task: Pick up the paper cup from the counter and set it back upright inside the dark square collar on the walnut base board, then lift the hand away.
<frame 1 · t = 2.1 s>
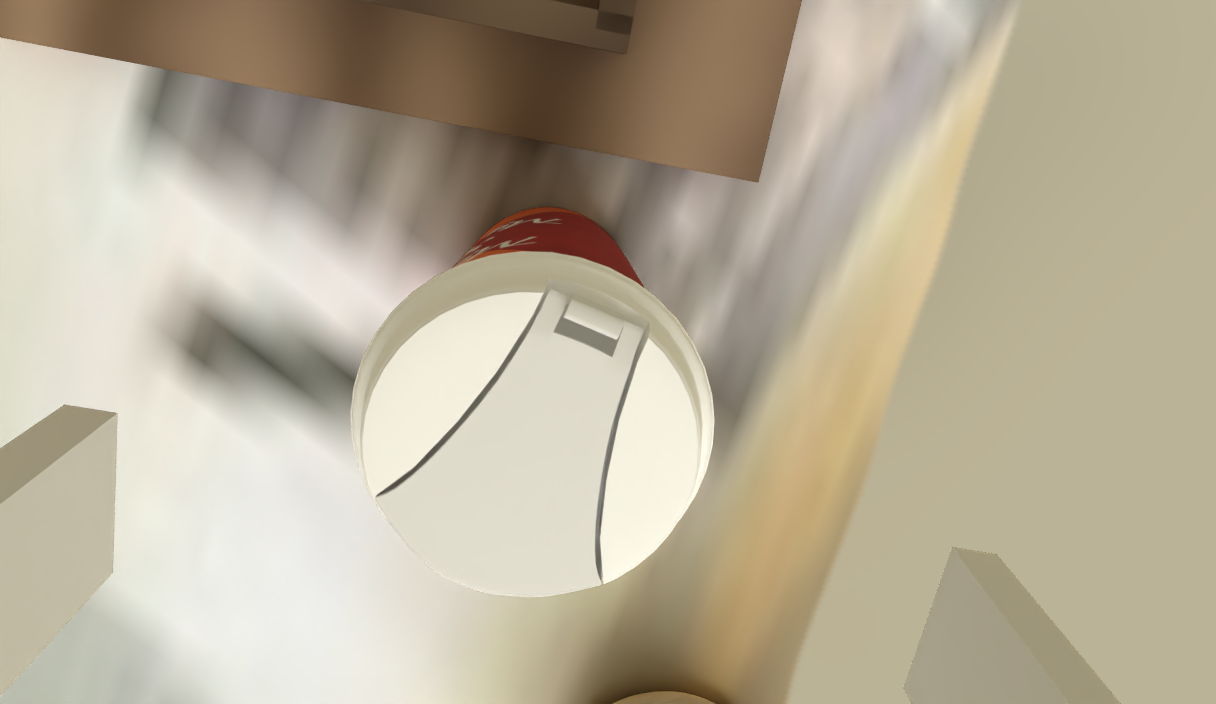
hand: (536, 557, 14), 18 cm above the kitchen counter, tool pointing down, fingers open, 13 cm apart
paper cup: (547, 287, 32), on the kitchen counter
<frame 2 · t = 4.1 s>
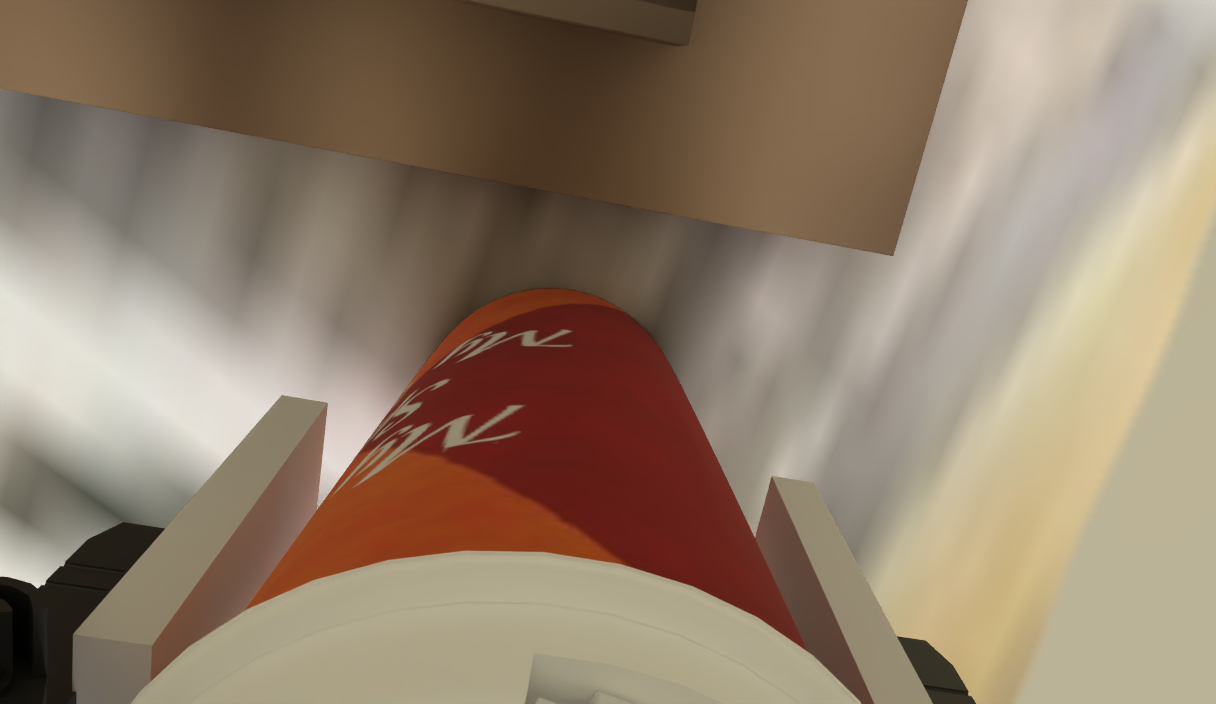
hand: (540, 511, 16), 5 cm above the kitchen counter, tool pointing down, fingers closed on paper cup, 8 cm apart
paper cup: (550, 407, 20), on the kitchen counter, touching gripper
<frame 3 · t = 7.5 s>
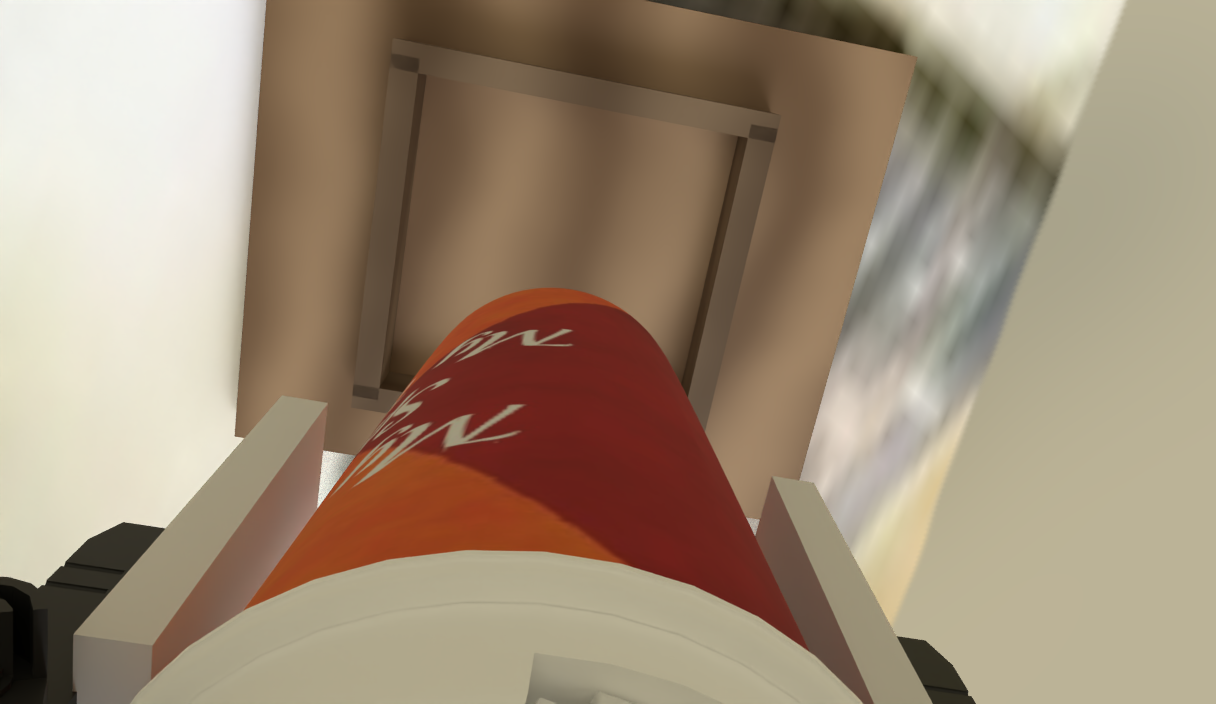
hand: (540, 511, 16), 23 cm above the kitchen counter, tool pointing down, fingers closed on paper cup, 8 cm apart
assembly base: (558, 249, 38), on the kitchen counter
paper cup: (550, 406, 20), point 18 cm above the kitchen counter, touching gripper
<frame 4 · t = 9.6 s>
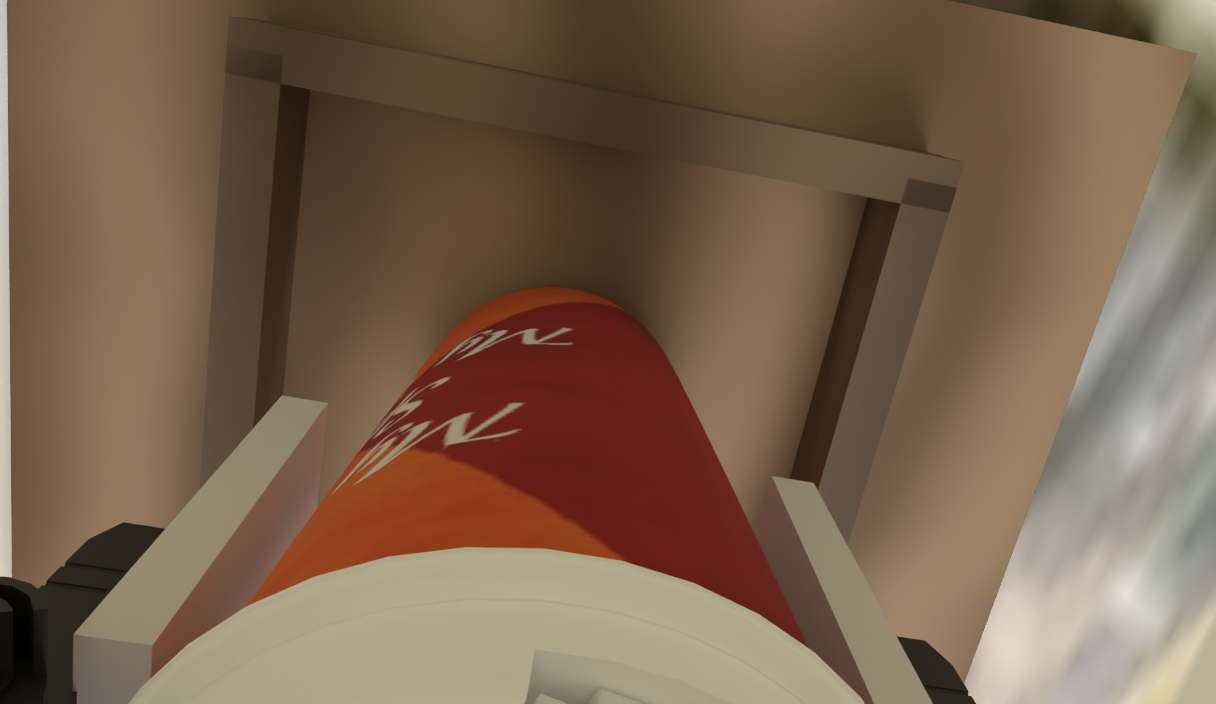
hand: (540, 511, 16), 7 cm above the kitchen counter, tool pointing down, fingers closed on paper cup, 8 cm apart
assembly base: (551, 376, 22), on the kitchen counter
paper cup: (550, 405, 20), point 2 cm above the kitchen counter, touching gripper
when the fingers open (6 cm above the kitchen counter, at t = 11.0 s): paper cup stays where it is, resting on assembly base.
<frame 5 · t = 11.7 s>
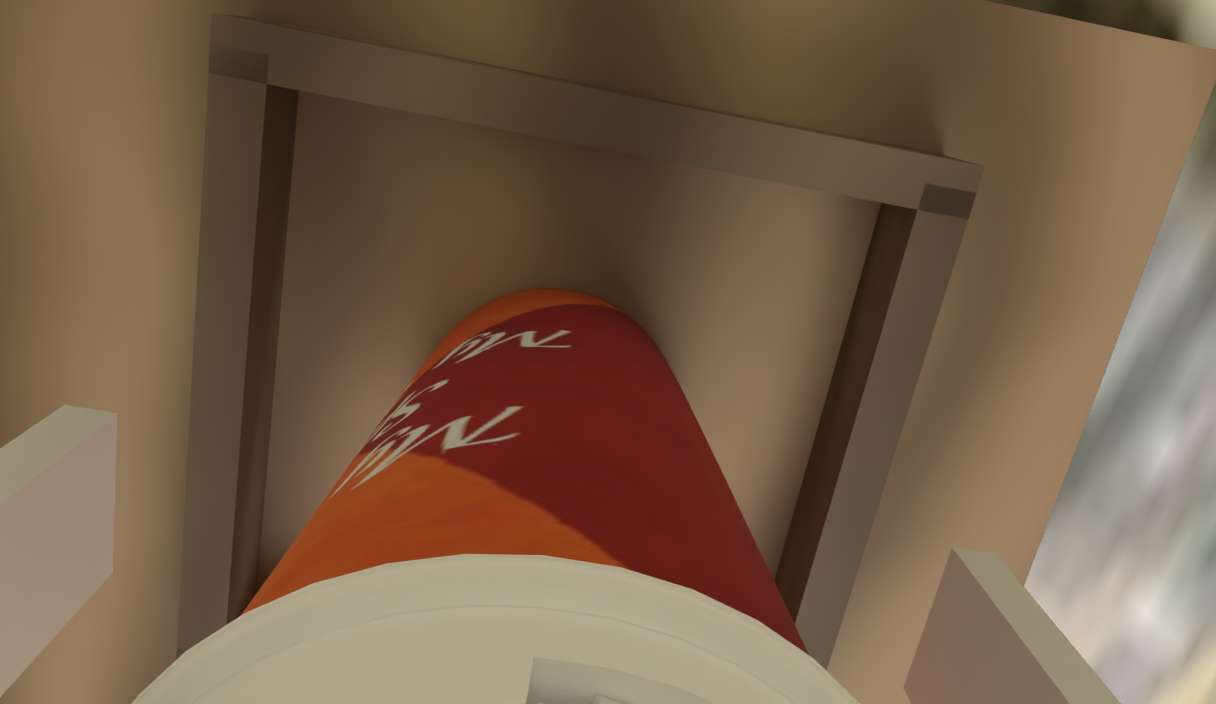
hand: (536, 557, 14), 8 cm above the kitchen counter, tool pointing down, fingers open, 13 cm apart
assembly base: (551, 387, 22), on the kitchen counter
paper cup: (549, 407, 20), point 1 cm above the kitchen counter, touching assembly base
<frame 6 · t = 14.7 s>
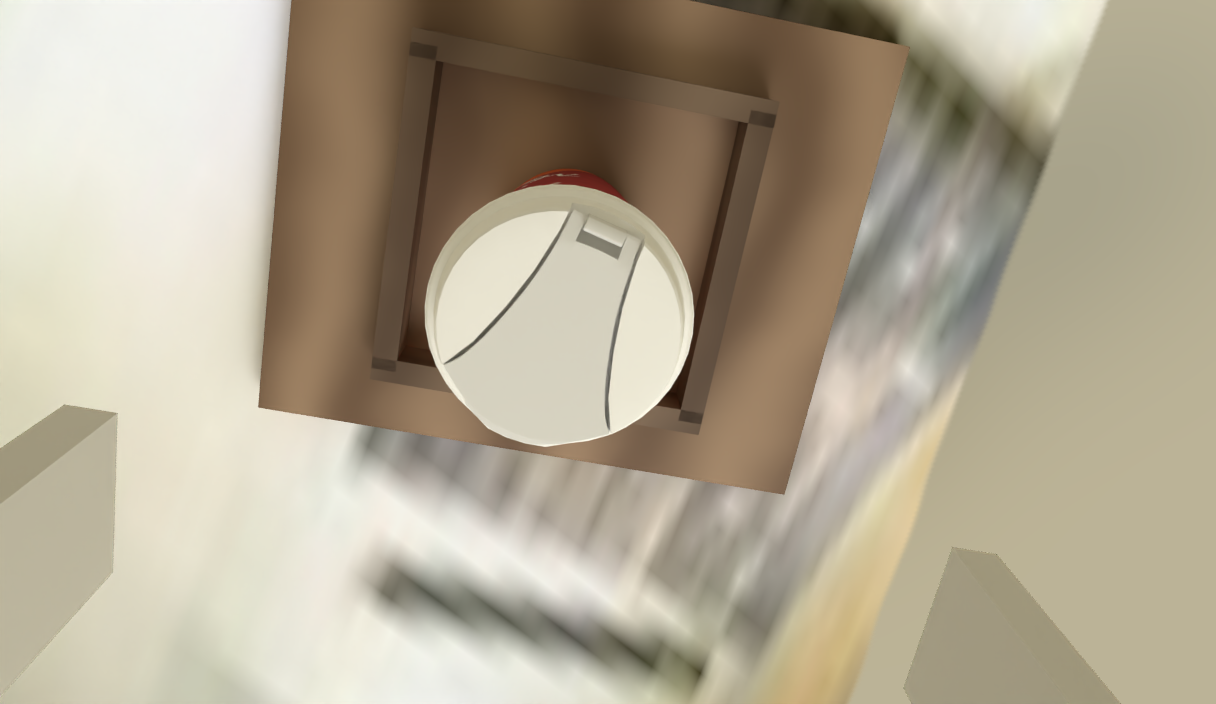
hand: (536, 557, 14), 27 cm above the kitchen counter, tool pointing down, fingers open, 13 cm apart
assembly base: (567, 229, 40), on the kitchen counter
paper cup: (566, 235, 38), point 1 cm above the kitchen counter, touching assembly base
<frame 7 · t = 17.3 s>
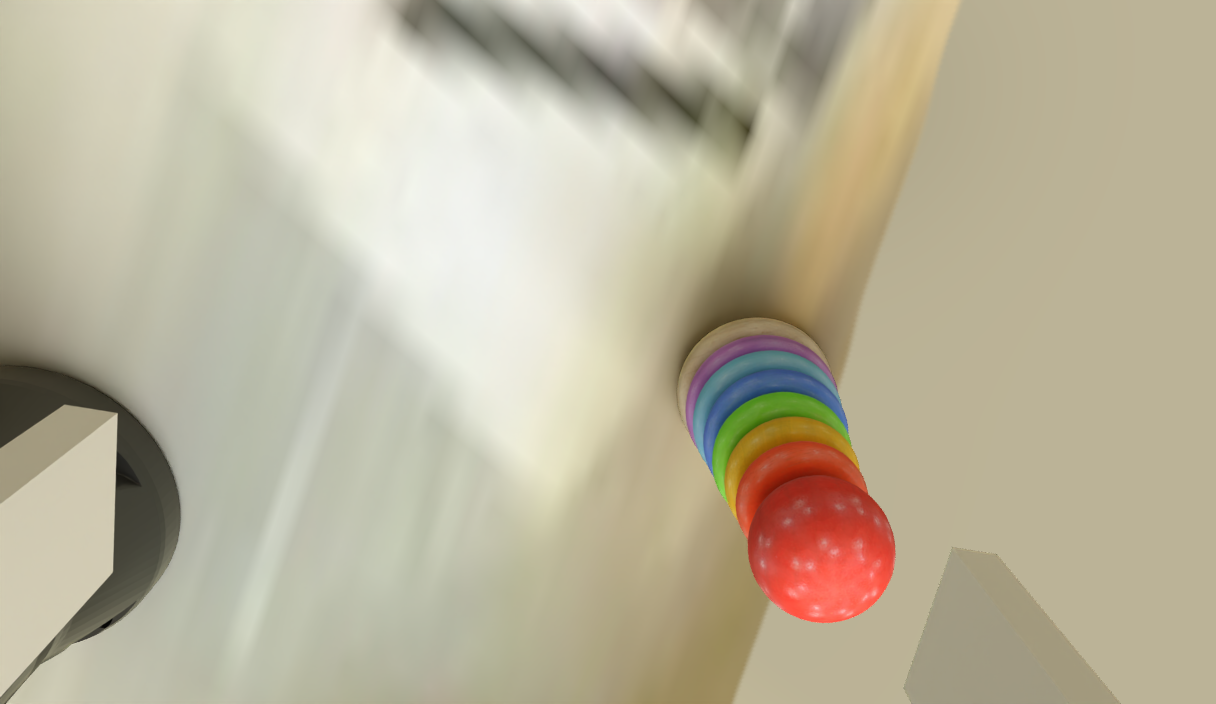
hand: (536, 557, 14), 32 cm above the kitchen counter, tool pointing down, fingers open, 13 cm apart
stacking toy: (750, 384, 48), on the kitchen counter
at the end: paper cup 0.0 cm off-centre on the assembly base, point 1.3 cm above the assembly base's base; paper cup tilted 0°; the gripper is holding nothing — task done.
